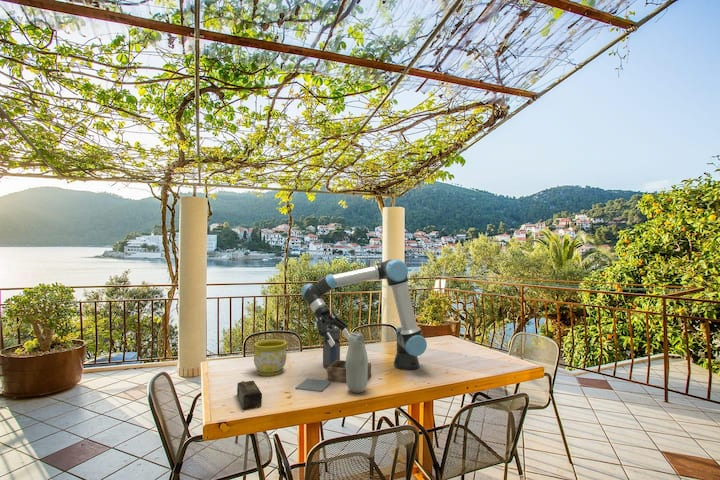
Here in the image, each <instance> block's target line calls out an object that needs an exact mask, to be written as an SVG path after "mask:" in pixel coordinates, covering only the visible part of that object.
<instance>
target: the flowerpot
mask: <svg viewBox="0 0 720 480" xmlns="http://www.w3.org/2000/svg"><path fill="white" fill-rule="evenodd" d="M287 344H288V343H287V341H286V340H284V339H275V338H274V339H264V340H259V341H257V342H254V343H253V347H254V353H253V354H254V355H253V363H254V366H255V368H256V372H257V373H258V375H260V376H264V377H273V376H277V375H280V374H281V373H282V372H283V370H284V366H285V364H286V363H287V362H286V361H287Z"/></svg>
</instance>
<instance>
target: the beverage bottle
mask: <svg viewBox="0 0 720 480" xmlns="http://www.w3.org/2000/svg"><path fill="white" fill-rule="evenodd" d="M335 327H336V326H334V325H331V324H328V325H327V332H328V333H329V334H330V336H331V337H332V339H333V340H334V342H335V344H334V345H333V346H332V347H331V346H330V344H329V343H328V341H327V340H326V339H325V337H324V336H323V337H322V338H323V342H322V366H323V368H325V369H327V367H328V366H330V365H331V364H332V363H333V362H335V361H336V360H341V341H340V339H341V329H339V328H338V327H336V328H335Z"/></svg>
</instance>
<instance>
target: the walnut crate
mask: <svg viewBox="0 0 720 480" xmlns="http://www.w3.org/2000/svg"><path fill="white" fill-rule="evenodd" d="M345 363H346V360H341V359H340V360H336V361H335V362H333V363H332V364H331V365H330V366H328V367H327V368H326V370H327V379H326V380H328V381H332V383H335V382H336V383H345V384H347V383H346V368H344V364H345ZM371 376H372V362H368V380H369V379H370V378H371Z"/></svg>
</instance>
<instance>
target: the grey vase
mask: <svg viewBox="0 0 720 480" xmlns="http://www.w3.org/2000/svg"><path fill="white" fill-rule="evenodd" d="M368 358H369V357H368V352H367V350H366V344H365V336H364V335H363V333H361V332H358V331H357V332H356V331H354V332H353V331H352V333H350V336H349V341H348V347H347V351H346V357H345V361H346V383H345V384H346V385H347V386H346V387H347V388H348V389H349V391H350V392H353V393H355V394H359V393H363V392H364V391H365V390H366V389H367V386H368V380H369V379H368V363H369V362H368V361H369V360H368Z"/></svg>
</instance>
